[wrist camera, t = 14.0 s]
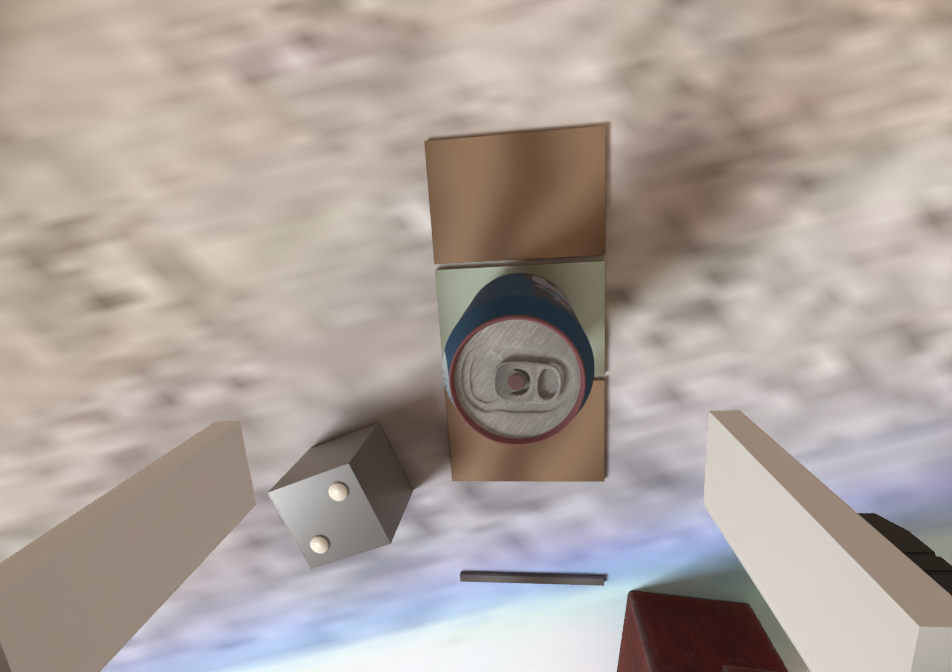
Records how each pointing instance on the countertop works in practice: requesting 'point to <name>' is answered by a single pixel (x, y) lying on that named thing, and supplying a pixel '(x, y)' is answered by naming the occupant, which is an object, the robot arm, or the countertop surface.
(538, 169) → the game board
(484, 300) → the soda can
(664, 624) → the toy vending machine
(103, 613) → the robot arm
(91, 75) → the countertop surface
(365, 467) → the die
